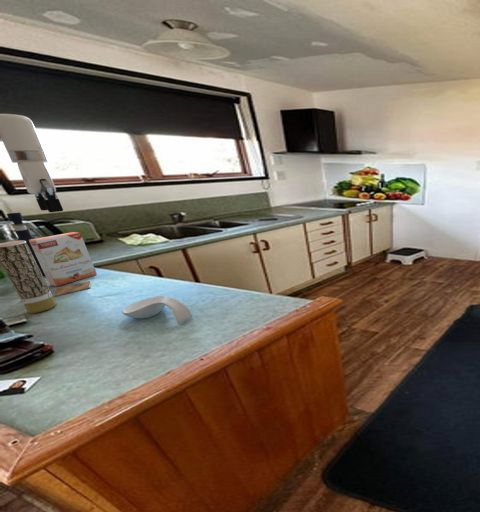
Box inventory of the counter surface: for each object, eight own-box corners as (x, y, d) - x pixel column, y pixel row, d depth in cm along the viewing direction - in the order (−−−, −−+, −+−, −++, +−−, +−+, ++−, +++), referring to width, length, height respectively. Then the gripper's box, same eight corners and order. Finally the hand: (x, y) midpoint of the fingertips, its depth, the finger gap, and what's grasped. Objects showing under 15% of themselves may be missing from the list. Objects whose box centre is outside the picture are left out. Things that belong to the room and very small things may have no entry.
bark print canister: (33, 315, 94) (-3, 246, 86) (24, 312, 96) (-13, 245, 88) (61, 306, 100) (29, 241, 92) (51, 303, 102) (19, 239, 94)
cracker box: (57, 287, 116) (34, 240, 109) (49, 285, 118) (27, 239, 111) (98, 274, 129) (80, 232, 122) (90, 273, 131) (72, 231, 124)
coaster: (54, 296, 107) (53, 295, 107) (56, 289, 114) (56, 288, 114) (90, 288, 114) (89, 287, 114) (90, 281, 121) (90, 280, 121)
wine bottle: (34, 278, 126) (2, 215, 116) (32, 275, 130) (0, 213, 120) (55, 273, 131) (25, 212, 121) (52, 271, 135) (23, 211, 125)
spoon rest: (116, 320, 89) (108, 301, 87) (154, 303, 99) (148, 285, 97) (169, 331, 82) (161, 310, 80) (203, 311, 93) (198, 292, 90)
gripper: (4, 158, 88) (28, 210, 94) (16, 156, 80) (42, 214, 85) (40, 158, 94) (60, 207, 100) (54, 156, 86) (76, 210, 91)
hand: (52, 210), depth 93 cm, fingers open, 9 cm apart
